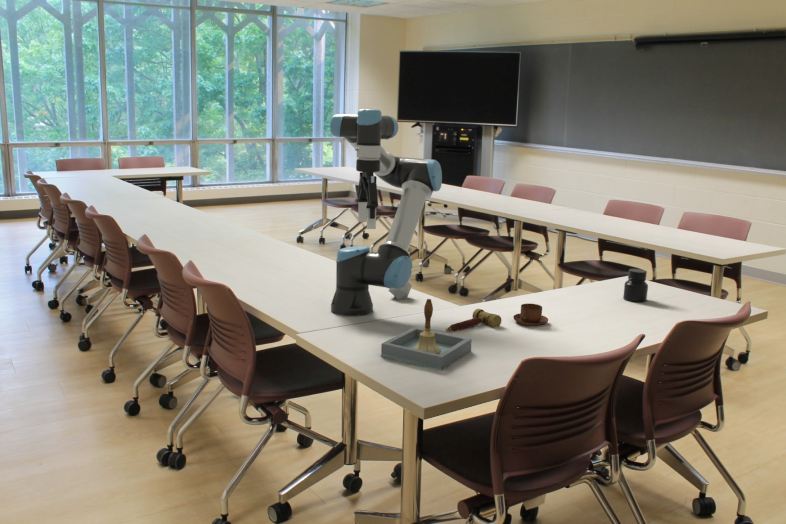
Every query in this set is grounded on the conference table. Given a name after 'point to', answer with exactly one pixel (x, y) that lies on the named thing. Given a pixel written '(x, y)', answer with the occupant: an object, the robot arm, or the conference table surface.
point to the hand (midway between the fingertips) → (366, 225)
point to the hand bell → (427, 332)
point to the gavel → (477, 320)
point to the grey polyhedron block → (401, 291)
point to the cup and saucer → (531, 315)
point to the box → (404, 351)
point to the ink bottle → (636, 286)
